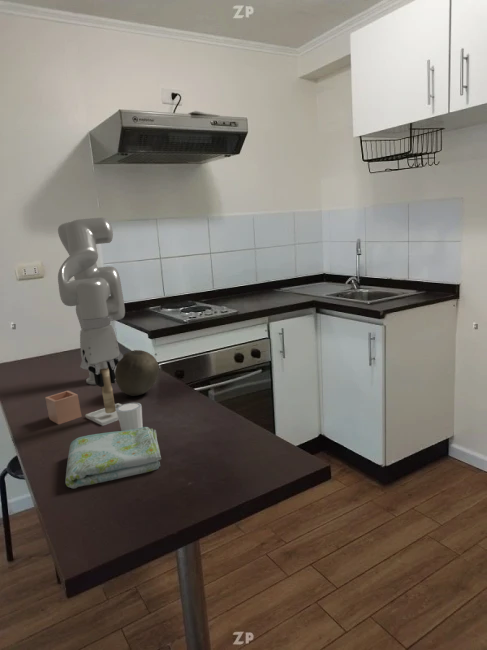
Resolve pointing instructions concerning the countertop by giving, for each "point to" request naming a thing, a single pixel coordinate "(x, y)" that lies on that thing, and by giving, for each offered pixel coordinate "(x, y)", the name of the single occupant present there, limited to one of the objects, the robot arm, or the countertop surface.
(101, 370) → the dowel
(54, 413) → the cup
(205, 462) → the countertop surface
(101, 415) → the tray
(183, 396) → the countertop surface
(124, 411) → the shot glass
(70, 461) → the towel
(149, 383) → the cantaloupe
